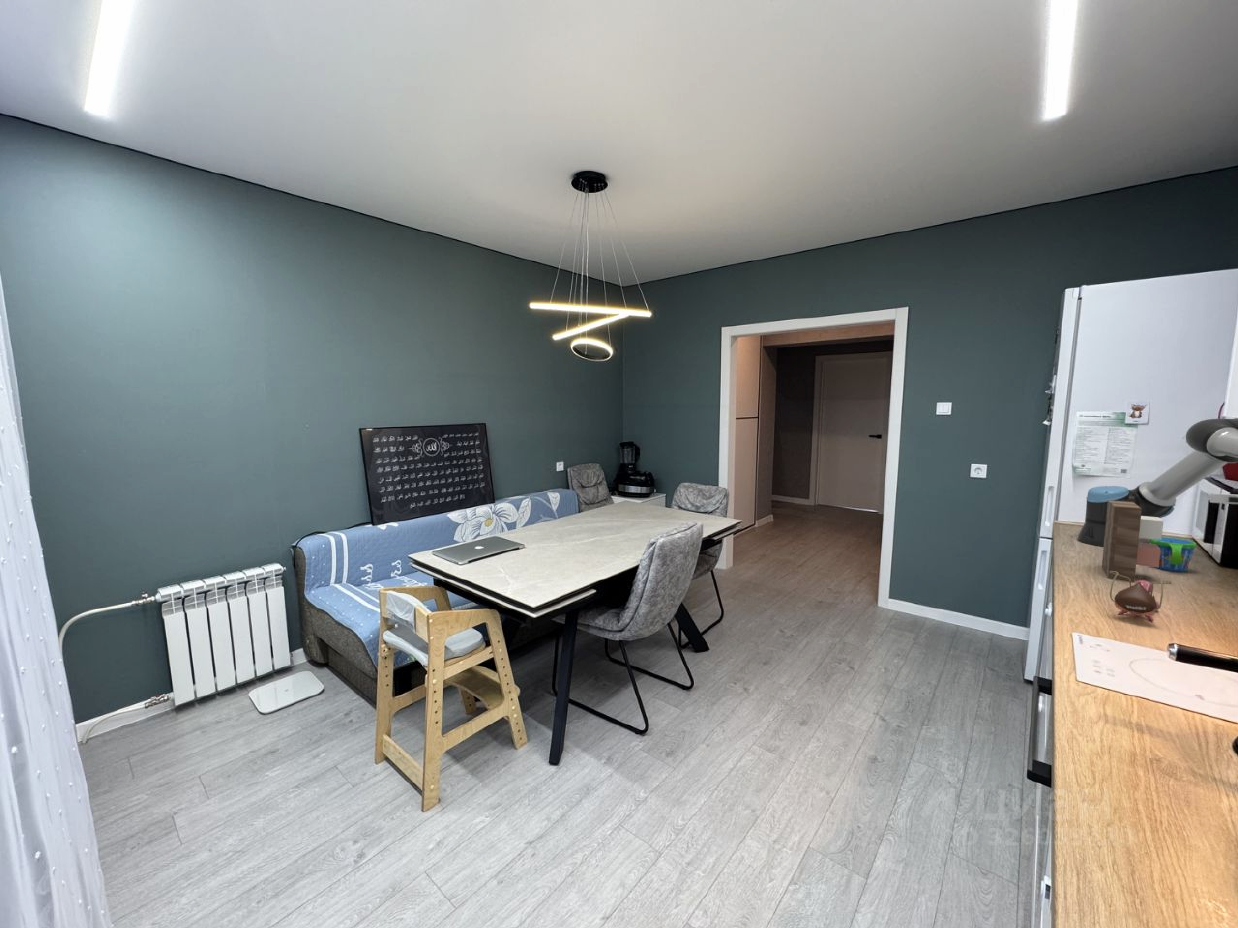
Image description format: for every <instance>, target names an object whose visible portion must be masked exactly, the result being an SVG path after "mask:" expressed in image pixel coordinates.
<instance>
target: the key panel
mask: <svg viewBox="0 0 1238 928" xmlns="http://www.w3.org/2000/svg"><path fill="white" fill-rule="evenodd" d="M1141 511H1142V508H1140V507H1139V506H1138V505H1136V504H1135V503H1134V502H1127V501H1113V500H1108V504H1107V515H1106V526H1105V537H1104V547H1103V550H1102V560H1101V569H1102V571H1103V572H1104V574H1105V575H1106V578H1107V579H1108V580H1109V579H1110V580H1113V579H1114V577H1115V576H1116V575H1115V574H1112V573H1110V571H1116V572H1118V573H1119V575H1122V576H1125V577H1128V578H1130V579H1131V583H1136V582H1135V581H1136V570H1137V565H1136V562H1137V552H1138V542H1139V540H1140V538H1139V531H1140V521H1141ZM1139 543H1140V542H1139ZM1116 572H1113V573H1116ZM1116 574H1117V573H1116ZM1119 575H1118V576H1117V577H1116V579H1115V580H1116V581H1123V582H1124V581H1125V582H1129V579H1128V578H1125V577H1122V576H1119Z"/></svg>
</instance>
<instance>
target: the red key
mask: <svg viewBox="0 0 1238 928" xmlns="http://www.w3.org/2000/svg"><path fill="white" fill-rule="evenodd" d="M1159 559H1160V548H1159V547H1158V546H1157V545H1156V544H1151V543H1148V542H1147V543H1145V542H1138V552H1137V562H1136V566H1145V567H1153V568H1157V567H1159Z"/></svg>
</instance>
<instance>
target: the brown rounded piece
mask: <svg viewBox="0 0 1238 928" xmlns="http://www.w3.org/2000/svg"><path fill="white" fill-rule="evenodd" d="M1113 572H1116V571H1110V573H1112V574H1115V575H1116V576H1115V577H1114V579H1112V582H1111V584H1110V591H1109V597H1110V600H1111V601H1112V602H1113V603H1114V605H1115V607H1116V608H1117V609H1118V610H1120V611H1118V614H1117V615H1124V614H1127V613H1130V614H1132V615H1133V616H1135V617H1142V616H1144V617H1145V618H1146V619H1147V620H1148V621H1150V622H1151V623H1154V621H1155V620H1154V618H1153V617H1152V616H1153V615H1154V614H1155V613H1156V611H1158V610H1160V609H1161V607H1162V604H1163V597H1164V596H1163V595H1164V585H1172V584H1173V583H1172V582H1171V581H1170V580H1165V579H1161V580H1160V581H1159V582H1157V581H1155V582H1154V581H1153V582H1152V583H1150V582H1149V581H1148V580H1144V579H1140V580H1136V582H1135V584H1134V585H1132V582H1131V579H1130V578H1128V577H1125V576H1122V575H1119V573H1118V572H1116V573H1117V574H1116V573H1113ZM1118 575H1119V576H1122V577H1125V578H1128V579H1129V581H1128V582H1129V587H1128V586H1127V587H1126V588H1124V589H1122V590H1119V591H1118V592H1117V593H1116V594H1115V596H1114V599H1113V596H1112V594H1113V593H1112V592H1113V588H1114V587H1113V586H1114V583H1115V580H1116V577H1117V576H1118ZM1155 584H1159V585H1160V589H1161V593H1160V600H1159V602H1158V601H1156V598H1155V597H1156V595H1155V594H1153V591H1154V585H1155ZM1163 584H1164V585H1163Z"/></svg>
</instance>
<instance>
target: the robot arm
mask: <svg viewBox="0 0 1238 928" xmlns="http://www.w3.org/2000/svg"><path fill="white" fill-rule="evenodd" d="M1185 441H1186V444H1187V445H1188V446H1189V447H1190V448H1191V449H1193V451H1192V452H1191V453H1190V454H1188V455H1187V456H1185V457H1184V458H1183V459H1180V460H1179V462H1176V463H1175V464H1174V465H1173V466H1172V467H1170V468H1169V469H1167V470H1166V471H1165V472H1163V473H1161V474H1160V475H1159V476H1157V478H1155V479H1153V480H1152V481H1144V482H1141V484H1139V485H1138V486H1136V487H1135V488H1133V489H1128V488H1127V487H1125V486H1117V485H1109V486H1108V485H1100V486H1094V487H1092V488H1090V489H1089V490H1088V491H1087V496H1086V506H1085V507H1086V510H1085V519H1084V520H1085V521H1084V524H1083V526H1082V528H1081V529H1080V531H1079V533H1078V534H1077V536H1078V537H1077V541H1079V542H1080V543H1083V544H1087V545H1093V546H1097V547H1103V548H1104V537H1105V526H1106V515H1107V504H1108V500H1113V501H1127V502H1134V503H1135V504H1136V505H1138V506H1139V507H1140V508H1142V511H1141V516H1148V517H1158V518H1160V519H1162V518H1165V517H1167V516H1169V515H1170V514H1172V513H1173V512H1174V510H1175V506H1176V503H1177V497H1179V496H1181V495H1182V494H1184V492H1186V491H1187V490H1189V489H1191V488H1192V487H1194V486H1195V485H1197V484H1198V483H1199V482H1201V481H1203V480H1204V479H1206V478H1207V477H1209V476H1210V475H1211V474H1213V473H1215V472H1216V471H1218V470H1219V469H1220V468H1222V467H1224V466H1225V465H1227V464H1236V463H1238V418H1209V419H1204V420H1203V419H1202V420H1201V421H1198V422H1196V423H1194V424H1193V425H1191V426H1190V427H1188V429H1187V431H1186V433H1185ZM1209 494H1210V495H1209V503H1211V504H1227V505H1228V504H1230V505H1238V494H1231V493H1217V492H1215V493H1214V492H1213V493H1212V492H1210V493H1209Z"/></svg>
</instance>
